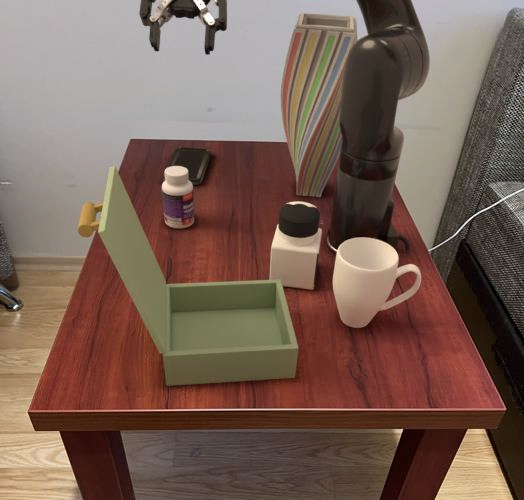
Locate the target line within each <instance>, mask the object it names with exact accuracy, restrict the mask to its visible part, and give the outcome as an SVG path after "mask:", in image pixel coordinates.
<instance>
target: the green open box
mask: <svg viewBox="0 0 524 500" xmlns="http://www.w3.org/2000/svg"><path fill="white" fill-rule="evenodd" d="M298 356H299V344H298V341H297V337H296V333H295V329H294V325H293V321H292V318H291V313H290V310H289V306H288V301H287V298H286V294H285V291H284V286H282V282H281V279H277V280H269V279H257V280H234V281H230V280H229V281H209V282H208V281H207V282H186V283H185V282H184V283H166V324H165V353H162V359H163V369H164V376H165V385H166V387H170V386H171V387H172V386H186V385H203V384H204V385H205V384H218V383H219V384H220V383H233V382H248V381H249V382H250V381H264V380H280V379H295V378H296V373H297V364H298Z"/></svg>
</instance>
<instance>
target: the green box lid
mask: <svg viewBox="0 0 524 500" xmlns="http://www.w3.org/2000/svg"><path fill="white" fill-rule="evenodd" d="M98 213H100V219H99V220H97V221H96V218H97V215H98ZM76 230H77V233H78V235H79V236H80V237H82V238H90V237H92V236H93V233H94V232H96V231H97V233H98V236H99V237H100V239H101V241H102V243H103V245H104V247H105V249H106V251H107V253H108V255H109V257H110V259H111V261H112V263H113V265H114V267H115V269H116V270H117V271H116V272H118V275H119V276H120V279H121V280H122V283H123V284H124V287H125V288H126V290H127V292H128V294H129V296H130V298H131V300H132V302H133V304H134V306H135V308H136V310H137V313H138V314H139V316H140V317H141V320H142V322H143V324H144V326H145V328H146V330H147V331H148V334H149V335H150V337H151V340H152V342H153V343H154V345H155V347H156V349H157V351H158V353H159V354H160V355H163V353H165V324H166V284H167V280H166V278H165V275H164V273H163V271H162V269H161V267H160V265H159V262H158V259H157V258H156V255H155V253H154V251H153V248H152V246H151V244H150V241H149V240H148V237H147V235H146V232H145V231H144V228H143V226H142V223H141V221H140V219H139V217H138V214H137V212H136V210H135V207H134V206H133V203H132V201H131V198H130V196H129V194H128V191H127V190H126V187H125V185H124V182H123V181H122V177H121V175H120V174H119V170H118V169H117V167H116V165H113V166H109V168H108V175H107V180H106V186H105V191H104V197H103V202H100V203H96V204H95V203H94V202H91V201H89V202H85V203H83V205H82V208H81V213H80V216H79V221H78V225H77V229H76Z"/></svg>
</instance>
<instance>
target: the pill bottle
mask: <svg viewBox="0 0 524 500" xmlns="http://www.w3.org/2000/svg"><path fill="white" fill-rule="evenodd" d="M164 171H165V181H162V184H161V194H162V195H161V196H162V206H163V217H164V222H165V224H166V225H167V226H168V227H169V228H172V229H186V228H189V227H191V226H192V225H193V224H194V223H195V200H194V198H195V197H194V185H192V183H191V182H190V181H189V180H188V177H189V176H188V170H187V169H186V168H185V167H181V166H171V167H168V168H166V167H165V169H164Z"/></svg>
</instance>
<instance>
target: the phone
mask: <svg viewBox="0 0 524 500" xmlns="http://www.w3.org/2000/svg"><path fill="white" fill-rule="evenodd" d="M211 157H212V151H211V150H210V149H207V148H193V147H177V148H175V149H174V151H173V153H172V155H171V158H170V160H169V161H168V164H167V165H166V167H165V169H166V168H168V167H171V166H181V167H185V168H186V169H187V170H188V176H189V177H188V180H189V181H190V182H191V183H192V185H193V186H198V185H200V184H202V182H203V180H204V177H205V174H206V171H207V168H208V166H209V163H210V160H211ZM164 181H165V170H164V172H163V173H162V182H164Z"/></svg>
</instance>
